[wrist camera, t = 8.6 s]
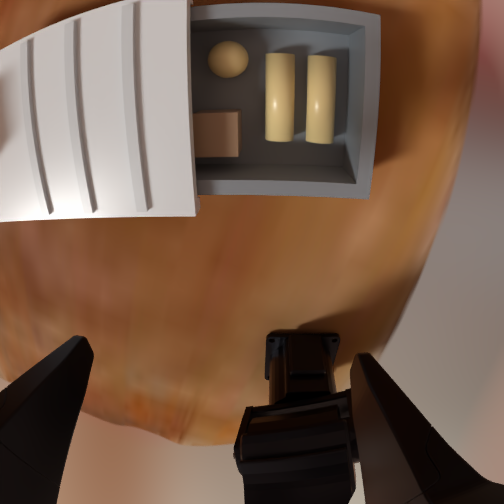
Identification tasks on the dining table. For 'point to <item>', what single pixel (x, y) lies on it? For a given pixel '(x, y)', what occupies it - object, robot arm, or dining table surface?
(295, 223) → the dining table surface
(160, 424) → the dining table surface
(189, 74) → the lid
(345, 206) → the dining table surface
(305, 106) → the tub
